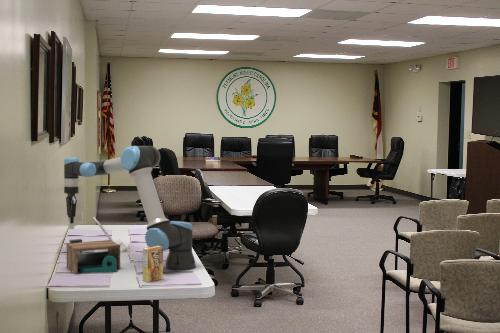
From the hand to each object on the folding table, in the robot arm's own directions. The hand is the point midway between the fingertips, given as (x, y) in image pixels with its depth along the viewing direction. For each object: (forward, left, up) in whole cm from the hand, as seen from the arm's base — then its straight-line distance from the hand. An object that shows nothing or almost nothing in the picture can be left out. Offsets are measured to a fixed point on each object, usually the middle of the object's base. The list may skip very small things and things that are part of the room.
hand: (71, 229), depth 352 cm
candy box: (-73, -17, -14) cm, 77 cm away
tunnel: (-38, 0, -14) cm, 41 cm away
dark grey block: (-20, 0, -14) cm, 24 cm away
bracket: (-44, -1, -15) cm, 46 cm away
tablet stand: (+8, -24, -15) cm, 29 cm away
